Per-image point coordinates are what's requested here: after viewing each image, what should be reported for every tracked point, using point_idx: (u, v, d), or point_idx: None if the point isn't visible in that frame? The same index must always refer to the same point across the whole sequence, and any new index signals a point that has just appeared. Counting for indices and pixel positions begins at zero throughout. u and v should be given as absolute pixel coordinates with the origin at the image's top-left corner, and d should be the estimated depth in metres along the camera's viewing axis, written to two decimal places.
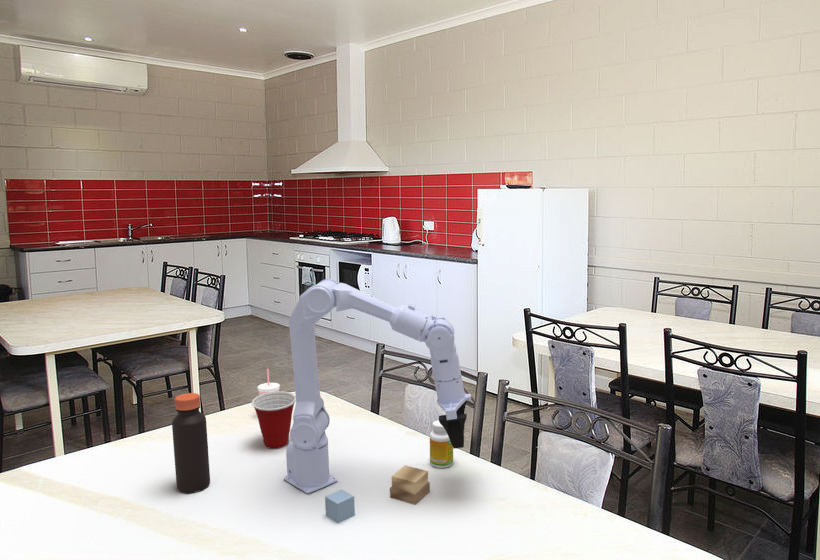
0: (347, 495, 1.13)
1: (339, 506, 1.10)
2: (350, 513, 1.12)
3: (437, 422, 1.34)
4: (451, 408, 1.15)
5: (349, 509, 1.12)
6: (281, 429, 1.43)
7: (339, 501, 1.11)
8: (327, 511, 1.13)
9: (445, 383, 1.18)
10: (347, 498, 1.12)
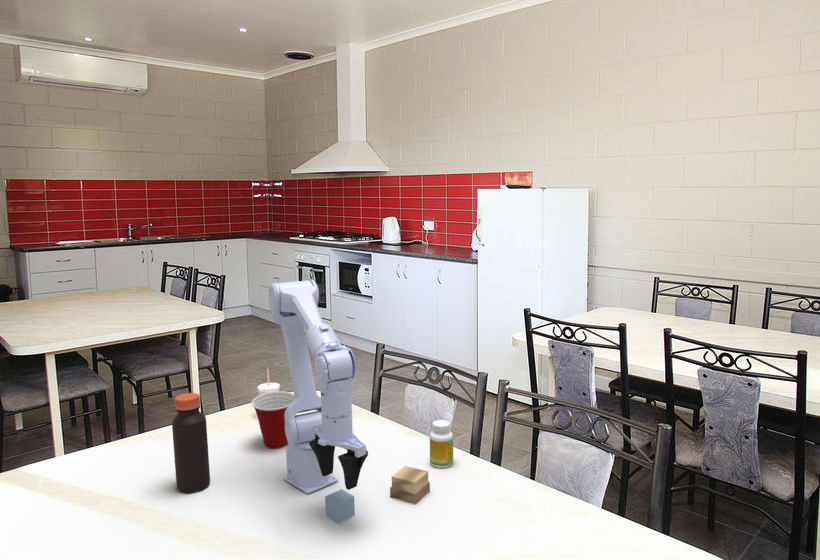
0: (347, 495, 1.13)
1: (339, 506, 1.10)
2: (350, 513, 1.12)
3: (437, 422, 1.34)
4: (319, 428, 1.15)
5: (349, 509, 1.12)
6: (281, 429, 1.43)
7: (339, 501, 1.11)
8: (327, 511, 1.13)
9: None
10: (347, 498, 1.12)
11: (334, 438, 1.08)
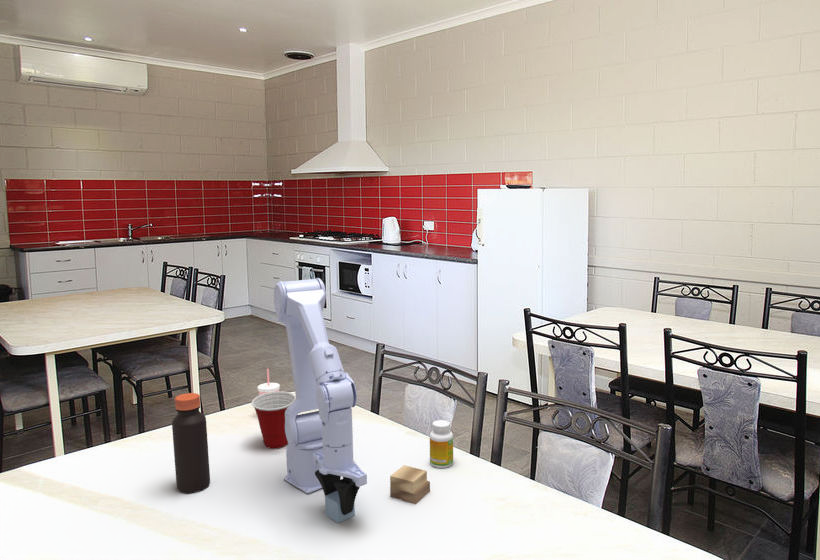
0: None
1: (339, 505, 1.10)
2: (350, 512, 1.12)
3: (437, 422, 1.34)
4: (320, 455, 1.16)
5: None
6: (281, 429, 1.43)
7: (339, 500, 1.11)
8: (327, 510, 1.13)
9: None
10: None
11: (335, 467, 1.09)
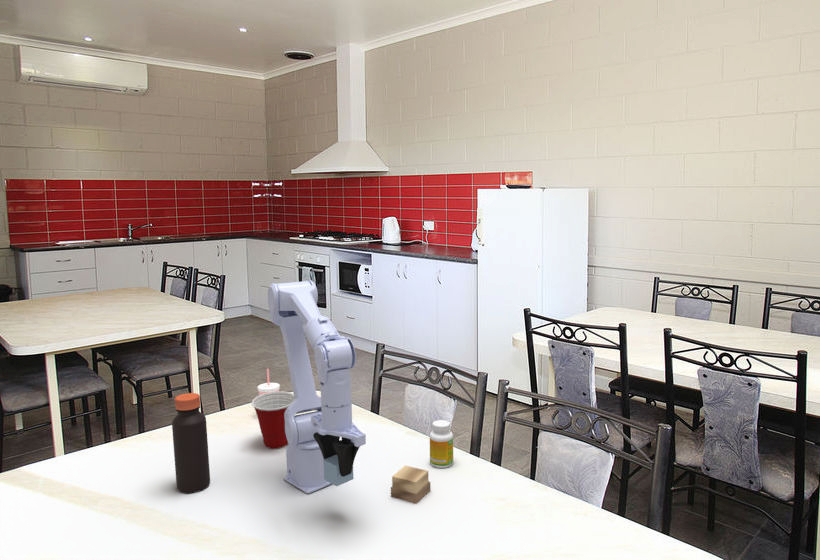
0: None
1: (338, 468, 1.09)
2: (349, 476, 1.11)
3: (437, 422, 1.34)
4: (318, 418, 1.15)
5: None
6: (281, 429, 1.43)
7: (337, 464, 1.10)
8: (325, 475, 1.12)
9: None
10: None
11: (334, 427, 1.08)
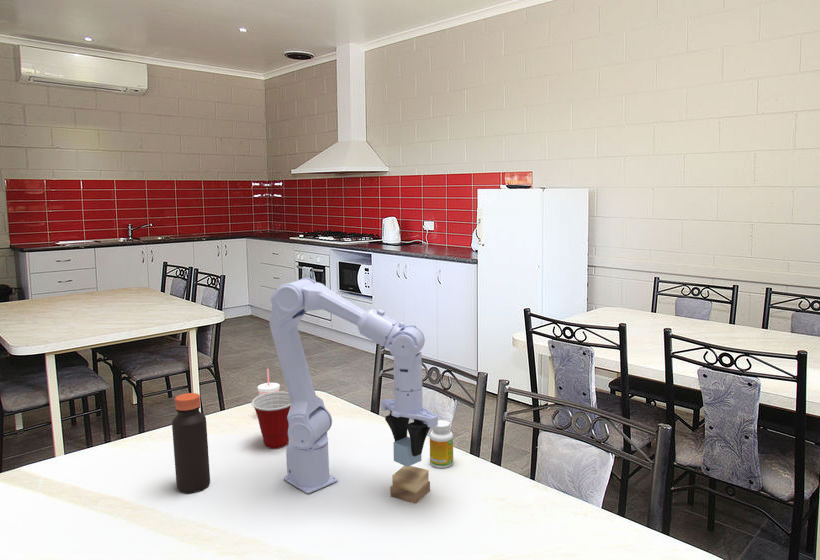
0: None
1: (408, 450, 1.16)
2: (417, 458, 1.19)
3: None
4: (388, 402, 1.22)
5: None
6: (281, 429, 1.43)
7: (408, 446, 1.17)
8: (395, 456, 1.19)
9: None
10: None
11: (407, 410, 1.15)
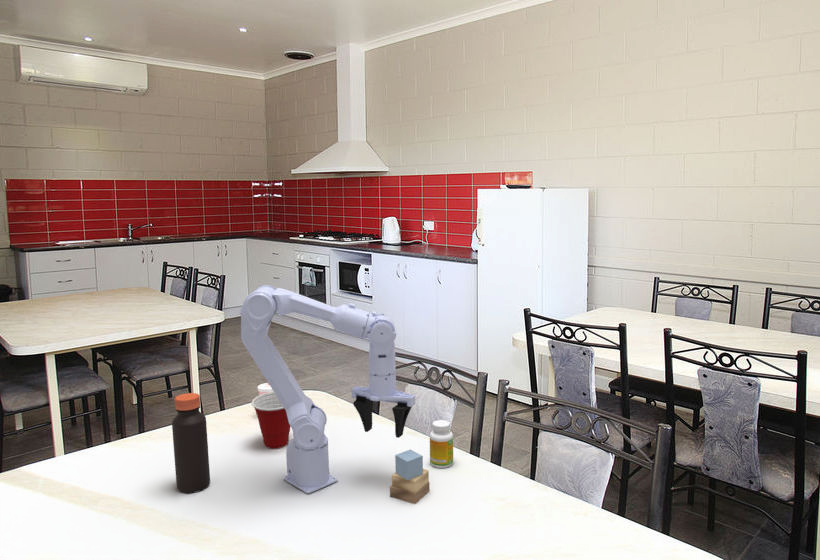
0: (416, 455, 1.20)
1: (409, 463, 1.17)
2: (418, 471, 1.19)
3: (437, 422, 1.34)
4: (359, 389, 1.28)
5: (417, 467, 1.19)
6: (281, 429, 1.43)
7: (408, 459, 1.18)
8: (397, 469, 1.20)
9: None
10: (416, 457, 1.19)
11: (386, 393, 1.22)
